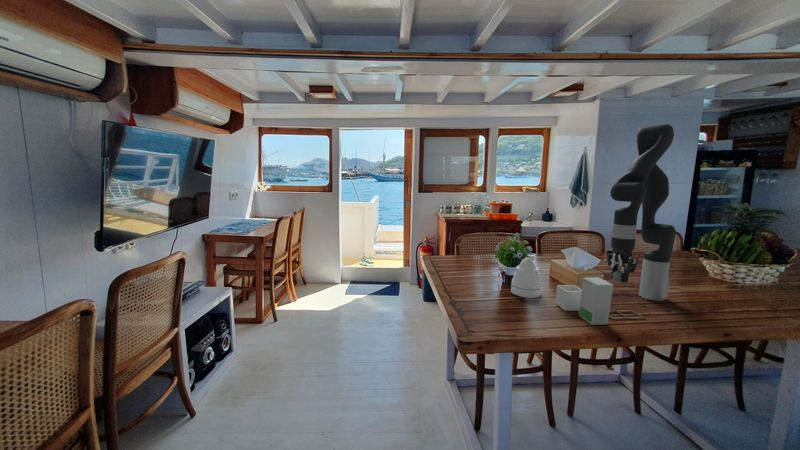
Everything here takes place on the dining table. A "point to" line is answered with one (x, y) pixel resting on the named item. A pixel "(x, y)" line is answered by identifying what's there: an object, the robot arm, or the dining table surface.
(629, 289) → the dining table surface
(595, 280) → the skincare box
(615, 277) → the ball slate
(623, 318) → the rack
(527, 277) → the honey pot
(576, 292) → the open square cup
